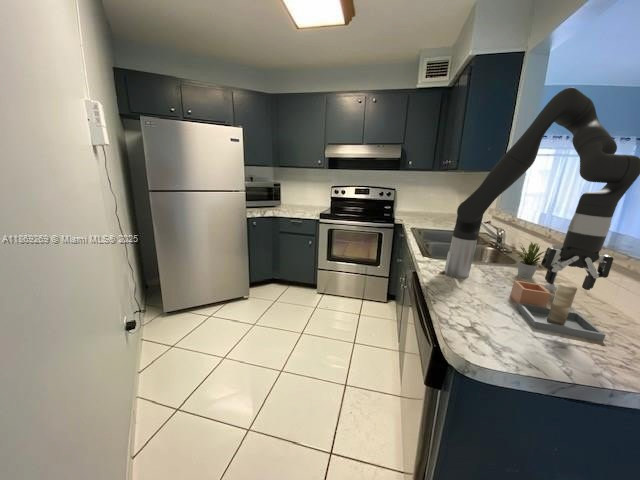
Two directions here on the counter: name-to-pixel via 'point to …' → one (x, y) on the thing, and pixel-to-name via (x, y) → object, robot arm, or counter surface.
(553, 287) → the chalice
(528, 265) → the house plant
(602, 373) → the counter surface
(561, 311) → the peg
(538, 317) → the tray
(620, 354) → the counter surface
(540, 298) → the terracotta open box
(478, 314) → the counter surface
